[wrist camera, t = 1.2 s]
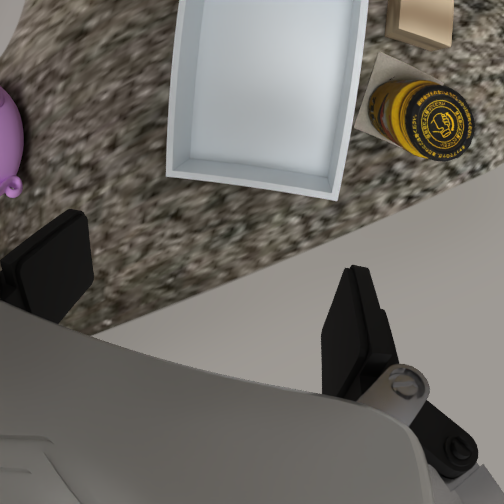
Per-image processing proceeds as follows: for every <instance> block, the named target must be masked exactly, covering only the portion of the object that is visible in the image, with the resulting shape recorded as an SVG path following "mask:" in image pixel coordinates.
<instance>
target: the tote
mask: <svg viewBox="0 0 504 504" xmlns="http://www.w3.org/2000/svg"><path fill="white" fill-rule="evenodd" d="M367 11H368V0H179V7H178V15H177V22H176V31H175V40H174V49H173V59H172V70H171V82H170V95H169V110H168V129H167V154H166V176H167V177H176V178H185V179H194V180H202V181H210V182H218V183H226V184H233V185H240V186H247V187H254V188H261V189H268V190H274V191H281V192H287V193H293V194H299V195H305V196H311V197H317V198H323V199H328V200H334V201H337V200H338V196H339V191H340V186H341V181H342V176H343V171H344V166H345V161H346V156H347V150H348V145H349V139H350V134H351V128H352V122H353V116H354V110H355V104H356V98H357V91H358V84H359V77H360V70H361V63H362V55H363V47H364V39H365V30H366V21H367Z"/></svg>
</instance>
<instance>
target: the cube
mask: <svg viewBox="0 0 504 504" xmlns="http://www.w3.org/2000/svg"><path fill="white" fill-rule="evenodd" d="M453 9H454V0H388V6H387V17H386V27H385V37H387V38H390V39H394V40H397V41H401V42H404V43H407V44H410V45H413V46H417V47H420V48H422V49H425V50H428V51H435V50H439V49H444V48H448V47H451V41H452V28H453Z"/></svg>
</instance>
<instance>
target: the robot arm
mask: <svg viewBox="0 0 504 504" xmlns="http://www.w3.org/2000/svg"><path fill="white" fill-rule="evenodd" d="M0 263H1V267H2V271H0V504H504V493H503V492H502V490H501V488H500V487H499V485H498V484H497V483H496V481H495V480H494V478H493V477H492V475H491V474H490V473H489V471H488V470H487V468H486V467H485V466H484V464H482V465H481V466H479V465H478V464H477V462H476V461H477V459H478V448H477V444H476V443H475V441H474V439H473V438H472V437H471V436H470V435H469V434H468V433H467V432H466V431H464V430H463V429H462V428H461V427H459V426H458V425H457V424H456V423H454V422H453V421H452V420H451V419H450V418H448V417H447V416H446V415H445V414H443V413H442V412H441V411H440V410H438V409H437V408H436V407H435V406H433V405H432V404H431V403H430V402H429V401H427V398H428V395H429V393H430V388H429V384H428V381H427V379H426V378H425V377H424V375H423V374H422V373H421V372H420V371H419V370H417V369H415V368H414V367H412V366H409V365H405V364H399V360H398V356H397V352H396V348H395V344H394V341H393V337H392V333H391V329H390V326H389V322H388V318H387V315H386V312H385V310H383V309H380V305H379V302H378V298H377V295H376V291H375V288H374V285H373V282H372V278H371V275H370V271H369V269H368V268H366V267H361V266H356V265H351V267H350V269H349V268H345V269H344V272H343V274H342V277H341V280H340V282H339V285H338V288H337V291H336V294H335V296H334V299H333V302H332V305H331V307H330V310H329V313H328V315H327V318H326V321H325V323H324V326H323V329H322V334H321V350H322V351H321V352H322V394H318V393H312V392H307V391H302V390H296V389H291V388H286V387H280V386H275V385H269V384H264V383H259V382H255V381H250V380H245V379H240V378H235V377H231V376H227V375H222V374H218V373H213V372H209V371H205V370H201V369H197V368H193V367H189V366H185V365H182V364H178V363H174V362H171V361H167V360H163V359H160V358H157V357H153V356H150V355H146V354H143V353H140V352H136V351H133V350H129V349H127V348H124V347H121V346H117V345H114V344H111V343H108V342H105V341H102V340H99V339H97V338H94V337H91V336H88V335H85V334H83V333H80V332H77V331H74V330H72V329H69V328H66V327H64V326H61V325H58V324H59V322H60V321H61V320H62V319H63V318H64V316H65V315H66V314H67V313H68V311H69V310H70V309H71V308H72V307H73V306H74V304H75V303H76V302H77V301H78V300H79V298H80V297H81V296H82V295H83V294H84V293H85V291H86V290H87V289H88V288H89V287H90V286H91V284H92V283H93V280H94V273H93V266H92V258H91V249H90V240H89V230H88V219H87V217H86V216H85V214H84V212H82V211H79V210H73V209H68V210H66V211H65V212H64V213H62V214H61V215H59V216H58V217H56V218H55V219H54V220H52V221H51V222H49V223H48V224H47V225H45V226H44V227H42V228H41V229H40V230H38V231H37V232H36V233H34V234H33V235H32V236H30V237H29V238H28V239H26V240H25V241H24V242H22V243H21V244H20V245H19V246H17V247H16V248H15V249H14V250H12V251H11V252H10V253H9V254H7V255H6V256H5V257H4V258H2V259H1V260H0Z"/></svg>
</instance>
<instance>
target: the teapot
mask: <svg viewBox="0 0 504 504" xmlns="http://www.w3.org/2000/svg"><path fill="white" fill-rule="evenodd" d="M23 146H24V133H23V125H22V120H21V116H20V113H19V111H18V108H17V106H16V104H15V103H14V101H13V100H12V98H11V97H10V95H9V94H8V93H7V92H6V91H5V90H4V89H3V88H2V87H1V86H0V196H1V195H3V194H4V193H6V195H7V196H8V197H11V198H15V197H17V196H19V195H20V194H21V192H22V189H23V186H22V181H21V179H20V178H19V177H18V176H16V175H17V172H18V169H19V166H20V162H21V158H22V154H23ZM10 187H12V188H14V189H11V188H10Z"/></svg>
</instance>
